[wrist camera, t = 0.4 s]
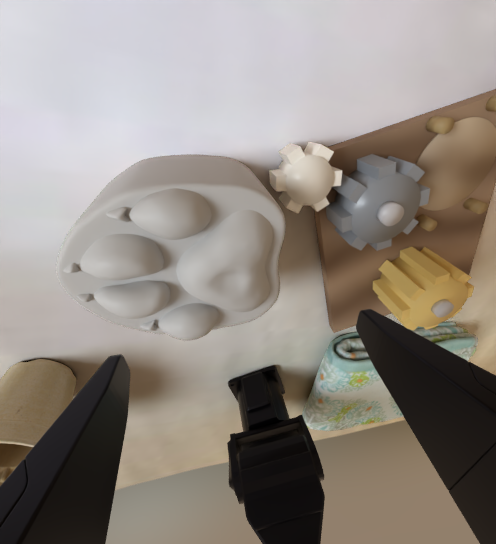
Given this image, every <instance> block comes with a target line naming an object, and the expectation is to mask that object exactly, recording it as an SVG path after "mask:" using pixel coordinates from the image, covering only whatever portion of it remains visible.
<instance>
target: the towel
mask: <svg viewBox="0 0 496 544" xmlns="http://www.w3.org/2000/svg"><path fill="white" fill-rule="evenodd" d="M404 327H405V326H404ZM409 330H410V329H409ZM411 331H413V330H411ZM413 332H415V333H417V334H419V335H420V336H422V337H424V338H426V339H428V340H430V341H432V342H433V343H435V344H437V345H439V346H441V347H443V348H445V349H447V350H448V351H450V352H452V353H454V354H456V355H458V356H460V357H461V358H463V359H465V360H467V361H468V360H469V358H470V357H471V356H472V355H473V354H474V353H475V351H476V346H477V344H478V337H476V336H475V335H474V334H470V333H468V331H467V330H466V329H463V328H461V327H456V323H455V322H442V323H440V324H438V326H436V327H433V328H430V329H427V330H426V329H425V328H424V327H419V326H418V327H417V328H416V329H415V330H414V331H413ZM302 416H303V418H304V421H305V423H306V425H307V427H308V428H310V429H314V430H324V431H334V430H342V429H346V428H351V427H354V426H358V425H365V424H370V423H377V422H383V421H388V420H391V419H395V418H400V417H404V416H403V414H402V413H401V411H400V409H399V408H398V406H397V404H396V403H395V401H394V399H393V398H392V396H391V394H390V393H389V391H388V389H387V388H386V386H385V384H384V383H383V381H382V379H381V378H380V376H379V374H378V373H377V371H376V369H375V368H374V366H373V364H372V362H371V360H370V358H369V356H368V353H367V351H366V349H365V347H364V345H363V343H362V341H361V338H360V336H359V334H358V332H353V333H349V334H345V335H342V336H339V337H338V338H336V339H335V340H333V341H332V342H331V343H330V345H329V347H328V349H327V351H326V353H325V355H324V357H323V360H322V362H321V364H320V367H319V370H318V373H317V376H316V379H315V382H314V385H313V388H312V391H311V393H310V396H309V398H308V400H307V403H306V405H305V407H304V410H303V414H302Z"/></svg>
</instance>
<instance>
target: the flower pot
mask: <svg viewBox="0 0 496 544" xmlns="http://www.w3.org/2000/svg"><path fill="white" fill-rule="evenodd" d="M75 385H76V377H75V376H74V375H73V373H72V371H71V369H70V368H69V367H67V366H65V365H63V364H61V363H58V362H55V361H51V360H45V359H37V360H33V361H30V362H19V363H17V364H15V365H13V366H12V367H10V368H9V369H8V370H7V372H6V373H5V374H4V376H3V377H2V378H1V379H0V486H1V485H2V483H3V482H4V481H5V480H6V479H7V478H8V476H9V475H10V474H11V473H12V472H13V471H14V469H15V468H16V467H17V466H18V465H19V463H20V462H21V461H22V460H23V459H25V456H26V455H27V454H28V453H29V452H30V450H31V449H32V448H33V447H34V446H35V444H36V443H37V442H38V441H39V440H40V438H41V437H42V436H43V435H44V434H45V432H46V431H47V430H48V429H49V428H50V426H51V425H52V424H53V423H54V422H55V420H56V419H57V418H58V417H59V416H60V415H61V413H62V412H63V411H64V410H65V409H66V407H67V406H68V405H69V404H70V403H71V401H72V400H73V395H74V390H75Z"/></svg>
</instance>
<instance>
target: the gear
mask: <svg viewBox="0 0 496 544" xmlns="http://www.w3.org/2000/svg"><path fill="white" fill-rule="evenodd" d="M424 173H425V172H424V171H423V170H421V169H420V168H419V167H418V166H416V165H415V164H413V163H410V162H407V161H404V160H401V159H398V158H395V157H392V156H388V158H387V159H385V158H382V157H379V156H376V155H374V154H371V155H368V156H365V157H362V158H359V159H357V170H355V171H354V172H353V173H351V174H350V175H349V176H346V175H344V174H342V179H341V186H333V187H332V188H333V189H334V190H336V191H337V194H336V197H335V202H333V203H330V204H329V205H327V206H326V215H327V219H328V220H329V221H330V222H332V223H333V224H334V225H335V226H336V228H335V231H336V232H337V233H338V234H339V235H340V236H341V237H342V238H343V239H344V240H345V241H347V242H348V243H349V244H350V245H351V246H353V247H355V248H357V249H359V250H362V249H363V248H364V247H365V245H366V244H367V243H369V244H370V245H371V246H372V247H373V248H374V249H376V250H377V251H378V250H381V249H384V248H387V247H390V246H391V241H392V238H393V237H395V236H397V235H398V234H399V233H401V232H404V233H406V234H407V235H408V234H409V233H410V232H411V230H412V229H413V228H414V227H415V226H416V225H417V224H418V221H417V220H415V219H414V216H415V215H416V213H417V210H418V208H419V207H420V206H423V205H426V204H428V200H429V193H430V188H428V187H426V186H423V185H421V184H418V183H417V182H418V181H419V179H420V178H421V177H422V176H423V174H424Z"/></svg>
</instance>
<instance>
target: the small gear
mask: <svg viewBox="0 0 496 544" xmlns="http://www.w3.org/2000/svg"><path fill="white" fill-rule="evenodd" d="M333 153H334V151H332V150H330V149H329V148H327V147H325V146H324V145H322V144H317V143H313V142H309V143H308V145H307V147H306V148H305V150H304V152H303V151H302V149H301V147H300V146H298V145H295V144H291V143H290V144H288V145H287V146H286V147H284V148H283V149H282V150H280V151H279V154H280V156H281V158H282V159H283V161H282V162H281V164H280V166H279V169H277V170H269V180H270V185H271V186H272V187H273V188H274V189H275V191H276V192H278V191H283V192H282V194H281V195H280V197H279V200H280V201H281V202H282V204H283V205H284V206H285V207H286V208H287V209H289V210H291V211H293V212H295V213H297V214H298V213H299V212H300V210H301V208H302V206H303V205H310V206H311V207H312V208H313V209H314V210H315V211H317V212H318V211H319V210H321V209H323V208H324V207H326V206H327V205H329V202H328V200H327V198H326V196H327V195H328V193H329V192H330V190H331V187H333V186H341V179H342V170H340V169H337V168H335V167H332V166H330V164H329V163H328V161H329V160H330V158H331V156H332V155H333Z"/></svg>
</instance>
